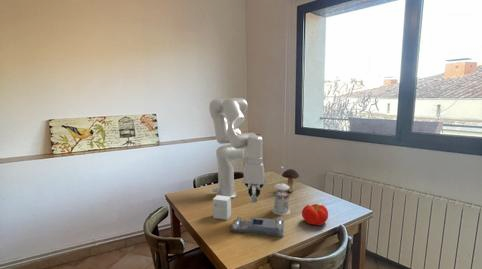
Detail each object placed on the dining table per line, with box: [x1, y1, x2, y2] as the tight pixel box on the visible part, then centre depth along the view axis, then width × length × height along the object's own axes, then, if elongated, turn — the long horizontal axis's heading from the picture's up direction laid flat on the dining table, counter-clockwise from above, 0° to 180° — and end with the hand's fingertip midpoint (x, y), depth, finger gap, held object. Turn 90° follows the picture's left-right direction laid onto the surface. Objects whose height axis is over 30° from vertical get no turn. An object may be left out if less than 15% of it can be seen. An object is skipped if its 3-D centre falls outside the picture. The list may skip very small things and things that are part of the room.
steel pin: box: [250, 184, 258, 204], centre depth 136 cm, size 3×3×10 cm
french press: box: [271, 166, 291, 216], centre depth 145 cm, size 10×12×25 cm
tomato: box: [301, 203, 329, 226], centre depth 132 cm, size 13×12×8 cm
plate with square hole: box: [230, 216, 285, 238], centre depth 126 cm, size 24×9×5 cm, turn 79°
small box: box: [212, 195, 232, 221], centre depth 139 cm, size 8×6×10 cm
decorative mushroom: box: [281, 168, 300, 193], centre depth 172 cm, size 11×11×15 cm
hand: (254, 195), depth 136 cm, fingers closed on steel pin, 3 cm apart
